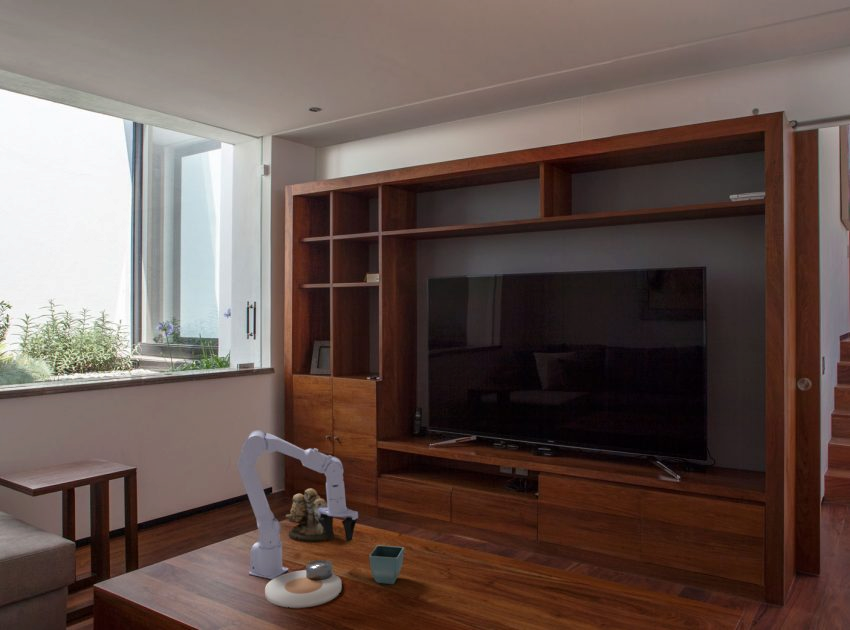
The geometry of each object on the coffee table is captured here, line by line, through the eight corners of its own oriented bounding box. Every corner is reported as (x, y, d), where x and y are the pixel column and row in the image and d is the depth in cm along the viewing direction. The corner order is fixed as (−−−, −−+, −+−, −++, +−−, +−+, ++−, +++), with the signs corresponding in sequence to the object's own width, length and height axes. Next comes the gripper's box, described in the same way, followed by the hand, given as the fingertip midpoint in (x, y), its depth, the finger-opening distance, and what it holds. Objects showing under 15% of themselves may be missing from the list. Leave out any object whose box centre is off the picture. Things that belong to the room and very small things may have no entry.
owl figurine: (280, 540, 235) (279, 492, 235) (293, 529, 246) (292, 483, 246) (328, 543, 231) (327, 494, 231) (339, 532, 243) (338, 485, 242)
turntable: (248, 598, 188) (248, 593, 188) (296, 570, 208) (296, 565, 208) (312, 614, 179) (312, 608, 179) (355, 582, 199) (355, 577, 199)
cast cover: (300, 577, 199) (300, 567, 199) (316, 567, 206) (316, 558, 206) (322, 582, 195) (322, 571, 195) (337, 572, 203) (337, 562, 203)
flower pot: (398, 588, 195) (397, 557, 194) (369, 585, 196) (368, 555, 196) (404, 575, 203) (404, 546, 203) (377, 573, 205) (376, 545, 205)
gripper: (362, 494, 209) (365, 537, 210) (325, 491, 217) (329, 532, 217) (348, 501, 203) (352, 545, 204) (311, 497, 210) (315, 540, 211)
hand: (339, 539), depth 210 cm, fingers open, 7 cm apart
